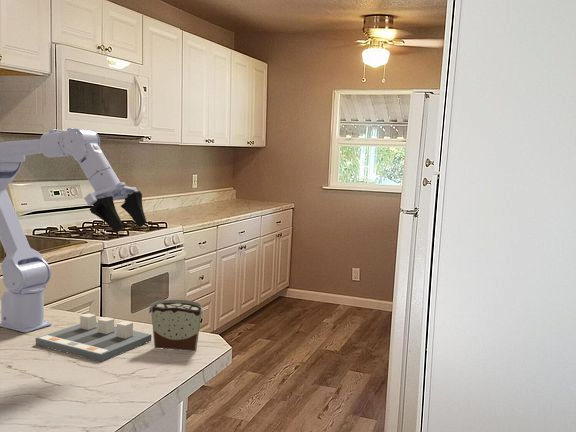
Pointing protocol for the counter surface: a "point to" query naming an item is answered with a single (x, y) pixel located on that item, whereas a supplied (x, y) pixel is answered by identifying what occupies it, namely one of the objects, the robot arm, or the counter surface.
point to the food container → (176, 324)
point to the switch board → (91, 342)
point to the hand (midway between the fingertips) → (131, 227)
